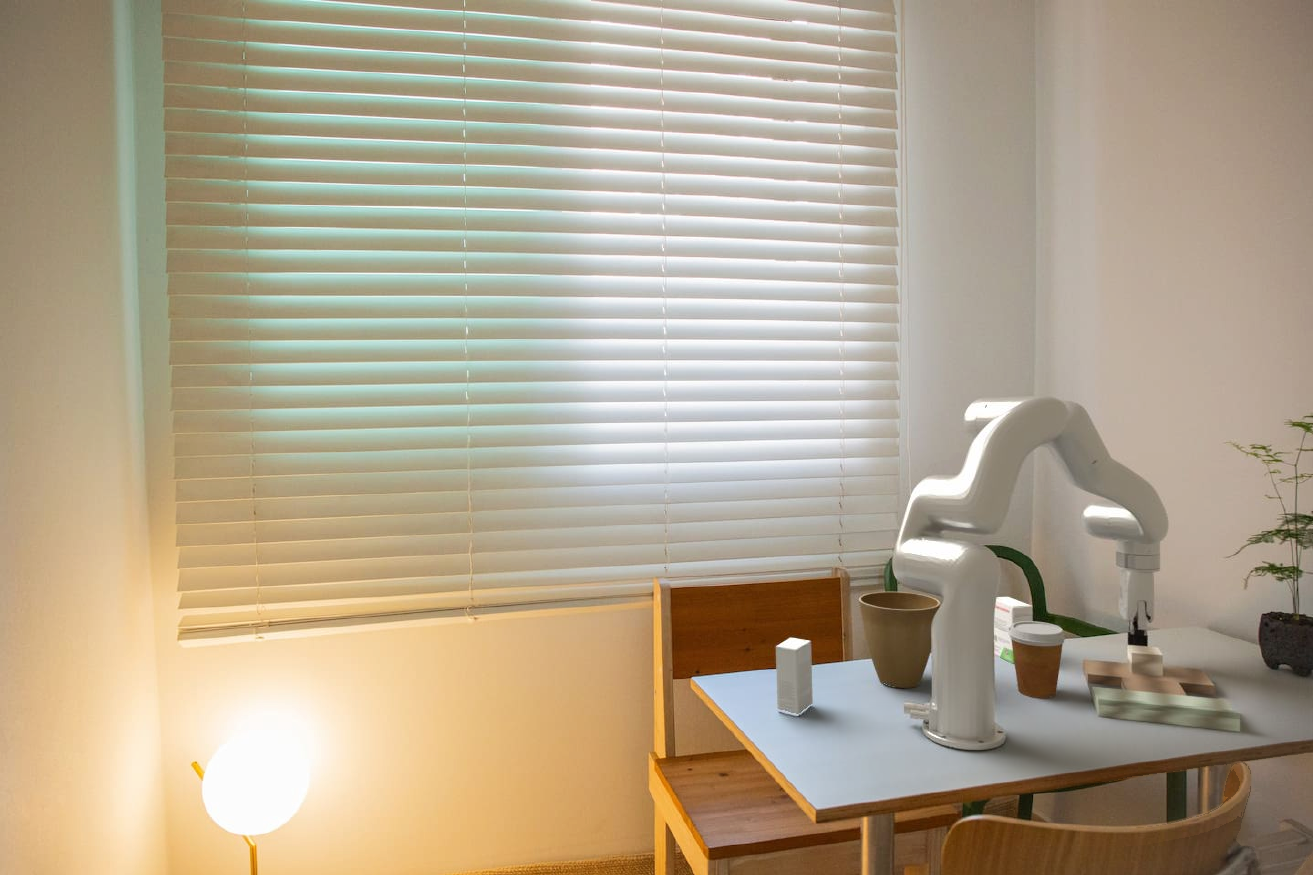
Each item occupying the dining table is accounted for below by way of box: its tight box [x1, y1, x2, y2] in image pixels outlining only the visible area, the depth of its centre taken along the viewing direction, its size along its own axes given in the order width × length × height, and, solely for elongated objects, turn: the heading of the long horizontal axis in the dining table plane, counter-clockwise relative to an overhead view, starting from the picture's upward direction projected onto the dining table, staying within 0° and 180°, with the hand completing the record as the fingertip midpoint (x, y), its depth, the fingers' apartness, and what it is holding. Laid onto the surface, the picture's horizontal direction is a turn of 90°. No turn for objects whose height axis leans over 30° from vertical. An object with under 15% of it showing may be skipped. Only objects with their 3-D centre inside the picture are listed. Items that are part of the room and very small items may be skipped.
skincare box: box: [775, 637, 814, 714], centre depth 144 cm, size 6×4×12 cm
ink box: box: [994, 596, 1034, 665], centre depth 169 cm, size 9×5×12 cm, turn 11°
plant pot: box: [858, 591, 941, 689], centre depth 156 cm, size 15×15×16 cm
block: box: [1126, 644, 1164, 677], centre depth 153 cm, size 5×5×4 cm
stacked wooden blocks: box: [1082, 658, 1241, 733], centre depth 145 cm, size 20×25×3 cm
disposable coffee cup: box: [1008, 621, 1067, 699], centre depth 149 cm, size 10×10×12 cm
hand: (1137, 653), depth 160 cm, fingers closed
